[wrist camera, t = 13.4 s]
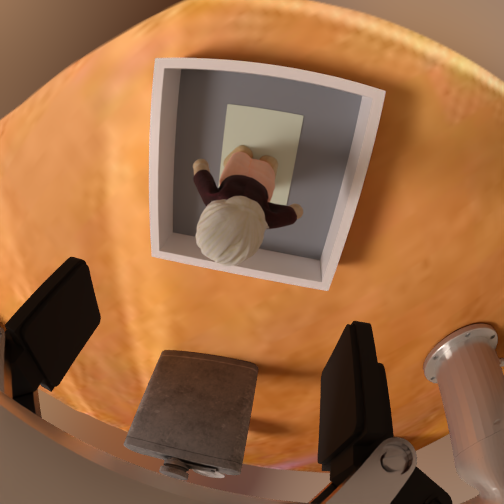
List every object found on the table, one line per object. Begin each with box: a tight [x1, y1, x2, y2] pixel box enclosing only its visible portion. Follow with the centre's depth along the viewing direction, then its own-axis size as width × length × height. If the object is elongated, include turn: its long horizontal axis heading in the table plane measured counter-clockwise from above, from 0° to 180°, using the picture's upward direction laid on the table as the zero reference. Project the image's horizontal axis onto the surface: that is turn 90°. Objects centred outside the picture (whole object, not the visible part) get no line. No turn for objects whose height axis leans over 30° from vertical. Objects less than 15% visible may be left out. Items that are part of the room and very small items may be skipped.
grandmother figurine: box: [193, 145, 303, 266], centre depth 19 cm, size 8×4×13 cm, turn 78°
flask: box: [124, 350, 258, 480], centre depth 32 cm, size 4×14×18 cm, turn 90°
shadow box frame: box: [149, 58, 386, 291], centre depth 23 cm, size 16×17×4 cm
